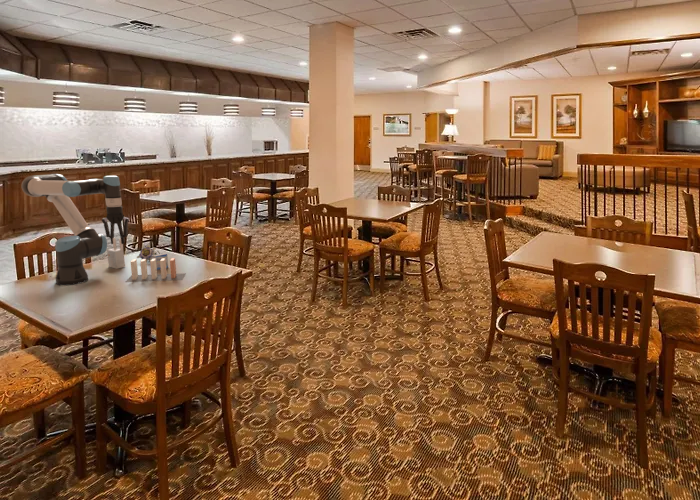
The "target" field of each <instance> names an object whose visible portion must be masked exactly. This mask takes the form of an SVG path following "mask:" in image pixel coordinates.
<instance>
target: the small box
mask: <svg viewBox="0 0 700 500" xmlns="http://www.w3.org/2000/svg"><path fill="white" fill-rule="evenodd" d="M106 253H107V254H106V255H107V262H108V263H107V264H108V267H109V268H113V269H116V270H117V269H121V268H125V267H126V262H125V254H124V253H125V252H124V249H123V250H120V248H117V250H115V251H114V247H113V248H109V249H108V248H107V249H106Z"/></svg>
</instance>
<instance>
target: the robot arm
mask: <svg viewBox="0 0 700 500" xmlns="http://www.w3.org/2000/svg"><path fill="white" fill-rule="evenodd" d="M21 189H22V192H23V193H24V194H25V195H26V196H29V197H32V198H40V197H45V198H46V200H47V201H48V202H50V203H53V206H55V208H56V210H57V211H58V212H59V214H60V215H61V217H62V219H63V220H64V222H65V223H66V224H67V226H68V228H69V229H70V231H71V232H72V233H73V235H69V236H67V235H66V236H64V237H60V238H59V239H57V240H56V241H55V244H54V245H55V248H54V249H55V254H56V255H55V256H56V263H57V272H56V277H55V283H56V284H57V285H60V286H61V285H64V286H65V285H66V286H69V285H77V284H82V283H84V282H87V281H88V280H89V275H88V272H87V271H86V268H85V267H84V264H83V260H84V259H88V258H92V257H97V256H98V257H99V256H100V255H103V254H104V253H106V252H107V250H108V240H107V239H108V238H109V239H110V244H111V245H113V246H112V247H113V248H114V251H115V250H117V249H118V248H117V239H116V237H115V224H116V225H117V228H118V231H119V236H120V237H119V239H118V240H119V249H120V250H123V251H124V244H125V238H126V237H127V236H128V233H129V232H128V231H129V221H130V218H129V217H125V216H124V214H123V213H124V212H123V205H122V204H123V202H122V192H121V191H122V190H121V182H120V177H119V176H117V175H104V176H103V177H102V178H90V179H85V180H68V179H67V178H66V177H65V176H64V175H63V174H60V173H49V174H37V175H36V174H35V175H30V176H29V175H28V176H27V177H25V178H24V179H23V180H22V183H21ZM97 194H98V195H99V194H102V195H104V197H105V206H106V208H105V209H106V217H103V218H102V219H101V222H102V223H103V226H104V231H105V232H104V233H105V234H103V233H101V232H97V231H96V230H95V228H93V227H90V225H89V224H88V222H86V220H85V218H84V217H83V215H82V214H81V212H80V211H79V209H78V208H77V206H76V204H75V203H74V202H73V201H72V199H71V198H75V197H81V196H89V195H97ZM123 221H124V225H122V224H123V223H122V222H123ZM108 222H109V224H110V228H109V224H108ZM105 235H106V236H105Z"/></svg>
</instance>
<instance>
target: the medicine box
mask: <svg viewBox="0 0 700 500" xmlns="http://www.w3.org/2000/svg"><path fill="white" fill-rule="evenodd" d="M156 254H157V255H152V256H151V260H152V259H156V267H157V271H161V266H160V260H161V259H162V258H165V259H166V269H168V268H169V259H168V253H165V252H164V253H163V252H162V253H161V252H160V254H159V253H156Z"/></svg>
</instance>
